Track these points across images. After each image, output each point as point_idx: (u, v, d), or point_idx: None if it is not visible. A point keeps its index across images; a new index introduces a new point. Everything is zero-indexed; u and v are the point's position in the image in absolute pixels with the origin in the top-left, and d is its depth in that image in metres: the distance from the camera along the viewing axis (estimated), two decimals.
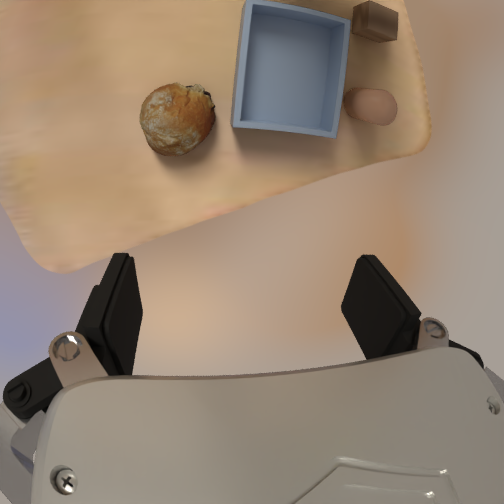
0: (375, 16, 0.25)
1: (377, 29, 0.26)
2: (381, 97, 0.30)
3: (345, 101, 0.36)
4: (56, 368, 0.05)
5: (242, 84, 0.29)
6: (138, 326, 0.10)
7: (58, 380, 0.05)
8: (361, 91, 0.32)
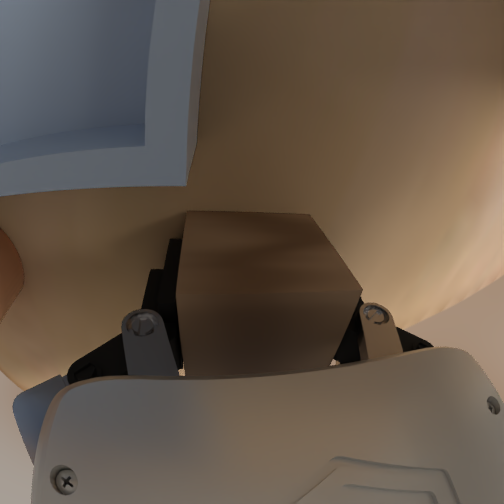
0: (271, 322, 0.08)
1: (193, 337, 0.08)
2: None
3: None
4: (124, 340, 0.07)
5: None
6: None
7: (123, 351, 0.07)
8: None
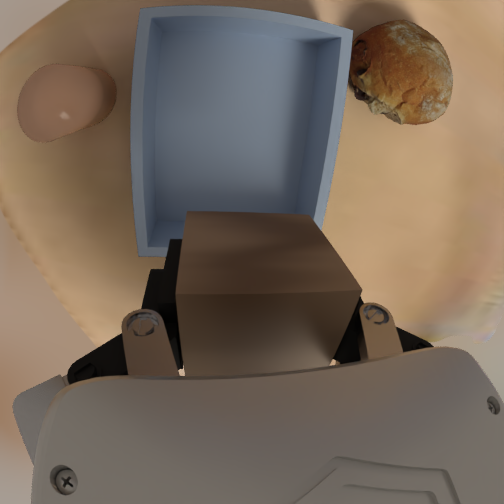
0: (271, 322, 0.08)
1: (192, 337, 0.08)
2: (51, 123, 0.12)
3: (113, 91, 0.17)
4: (124, 339, 0.07)
5: (336, 100, 0.16)
6: None
7: (123, 351, 0.07)
8: (90, 119, 0.15)
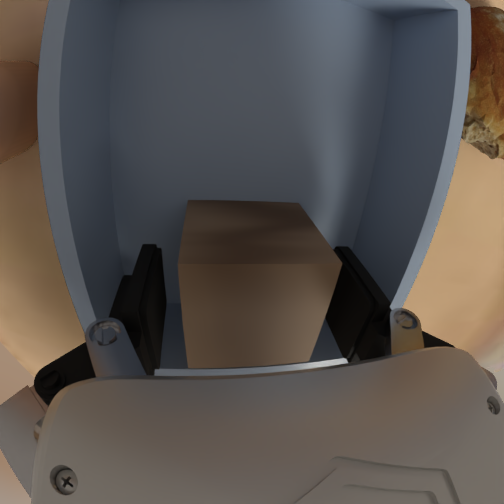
0: (261, 292, 0.09)
1: (192, 306, 0.09)
2: None
3: None
4: (90, 351, 0.06)
5: (452, 122, 0.07)
6: (164, 315, 0.11)
7: (90, 362, 0.06)
8: None
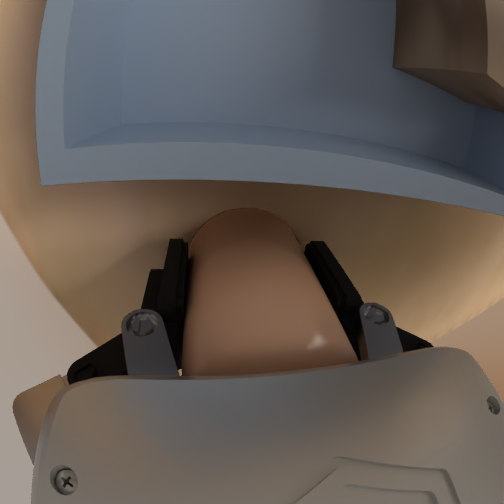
0: (503, 22, 0.03)
1: None
2: None
3: (245, 214, 0.11)
4: (124, 340, 0.07)
5: None
6: None
7: (123, 351, 0.07)
8: (314, 276, 0.09)
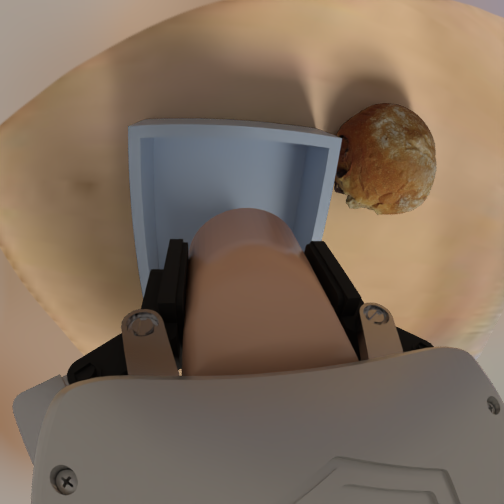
0: None
1: None
2: None
3: (245, 213, 0.11)
4: (124, 340, 0.07)
5: (319, 212, 0.20)
6: None
7: (123, 351, 0.07)
8: (314, 276, 0.09)
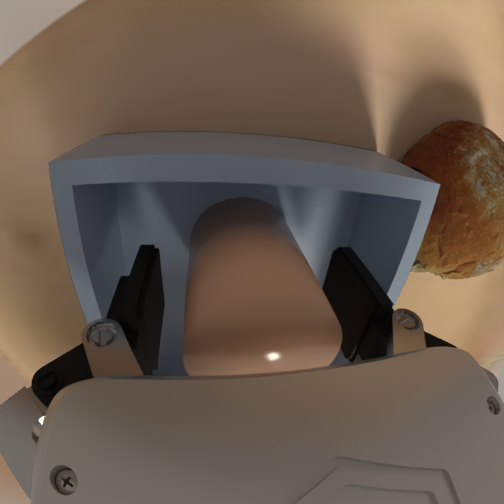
0: None
1: None
2: (309, 346, 0.08)
3: (241, 201, 0.12)
4: (87, 352, 0.06)
5: None
6: (162, 316, 0.11)
7: (87, 364, 0.06)
8: (301, 254, 0.10)
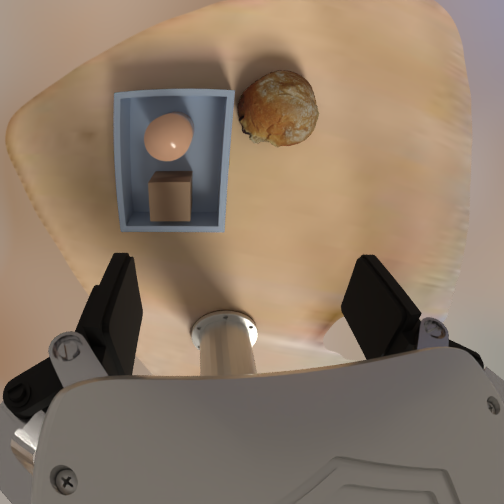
0: (169, 190, 0.32)
1: (151, 195, 0.31)
2: (180, 134, 0.27)
3: None
4: (56, 368, 0.05)
5: (225, 137, 0.30)
6: (138, 326, 0.10)
7: (58, 380, 0.05)
8: (186, 118, 0.29)
